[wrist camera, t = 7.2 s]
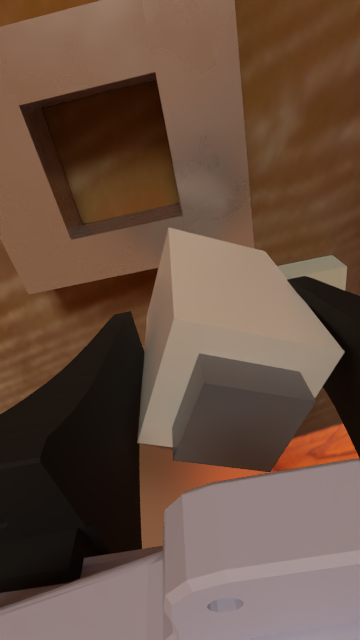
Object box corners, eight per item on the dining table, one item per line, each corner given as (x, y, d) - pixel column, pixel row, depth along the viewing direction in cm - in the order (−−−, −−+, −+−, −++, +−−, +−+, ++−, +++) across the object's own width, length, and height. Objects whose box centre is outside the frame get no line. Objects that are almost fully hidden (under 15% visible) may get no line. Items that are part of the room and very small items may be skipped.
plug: (265, 251, 14) (367, 380, 7) (231, 332, 16) (285, 492, 9) (168, 227, 13) (175, 345, 6) (147, 315, 15) (135, 476, 8)
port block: (219, -7, 15) (233, -37, 12) (242, 231, 20) (255, 249, 17) (-52, 63, 15) (-100, 50, 13) (44, 273, 21) (26, 296, 18)
